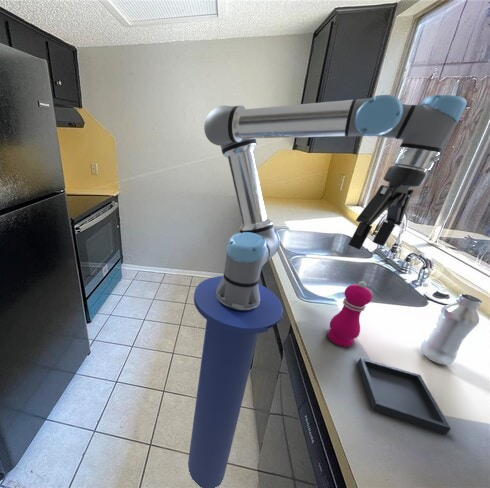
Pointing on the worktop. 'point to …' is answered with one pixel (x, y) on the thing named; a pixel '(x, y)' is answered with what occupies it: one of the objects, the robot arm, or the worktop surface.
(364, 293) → the pepper mill
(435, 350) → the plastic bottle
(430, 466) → the worktop surface
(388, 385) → the tray
